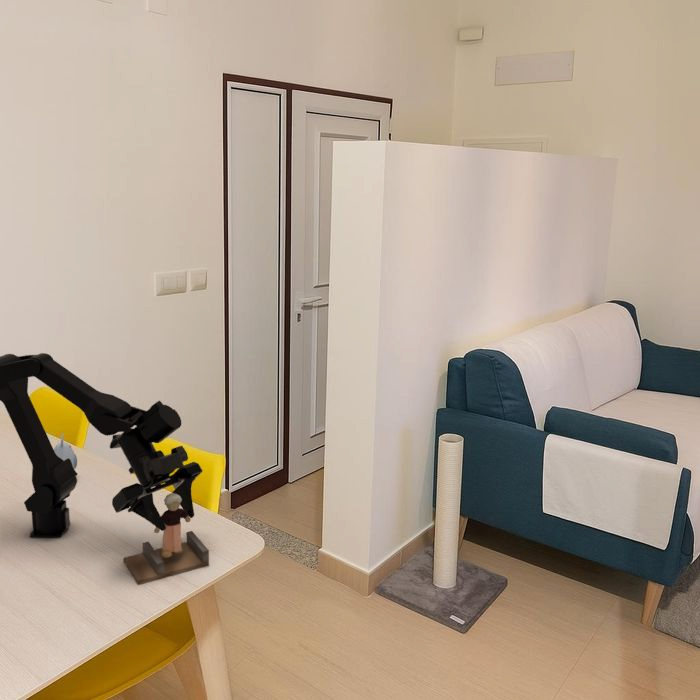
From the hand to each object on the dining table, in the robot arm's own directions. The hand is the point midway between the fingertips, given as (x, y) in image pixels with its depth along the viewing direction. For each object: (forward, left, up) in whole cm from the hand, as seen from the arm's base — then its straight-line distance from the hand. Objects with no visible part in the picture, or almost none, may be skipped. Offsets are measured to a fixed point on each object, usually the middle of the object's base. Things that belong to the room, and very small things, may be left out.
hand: (178, 523), depth 143 cm
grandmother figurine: (-1, +1, -7) cm, 7 cm away
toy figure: (-34, +38, -9) cm, 52 cm away
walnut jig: (-3, 0, -9) cm, 9 cm away
